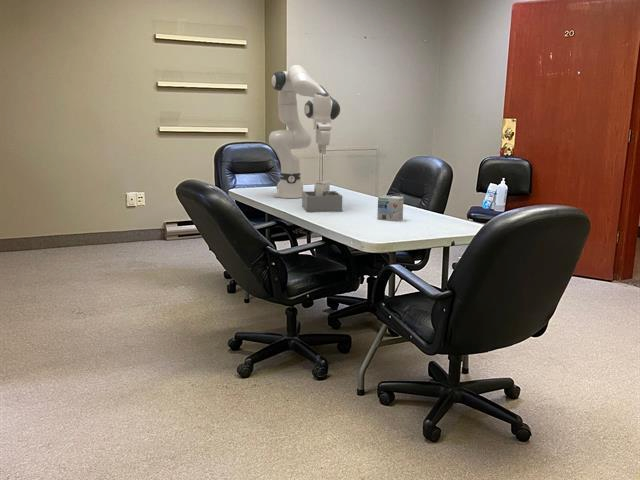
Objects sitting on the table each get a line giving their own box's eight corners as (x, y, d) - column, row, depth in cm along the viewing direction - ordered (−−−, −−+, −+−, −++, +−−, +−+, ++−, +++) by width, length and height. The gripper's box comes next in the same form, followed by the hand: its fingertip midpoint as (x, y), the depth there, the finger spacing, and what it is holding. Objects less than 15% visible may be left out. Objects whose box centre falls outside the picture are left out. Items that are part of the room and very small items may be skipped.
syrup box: (320, 207, 311) (321, 180, 308) (329, 209, 307) (329, 181, 304) (313, 209, 306) (314, 181, 303) (322, 210, 303) (322, 182, 300)
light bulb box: (376, 219, 278) (377, 196, 276) (382, 217, 284) (382, 195, 282) (398, 221, 273) (399, 198, 271) (403, 219, 279) (404, 196, 277)
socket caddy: (302, 206, 314) (302, 191, 313) (335, 205, 317) (335, 191, 316) (306, 212, 297) (307, 196, 295) (342, 211, 300) (342, 195, 298)
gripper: (312, 125, 308) (312, 152, 311) (319, 126, 288) (319, 154, 291) (324, 125, 309) (324, 152, 312) (332, 126, 289) (331, 154, 292)
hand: (322, 153), depth 301 cm, fingers open, 8 cm apart
